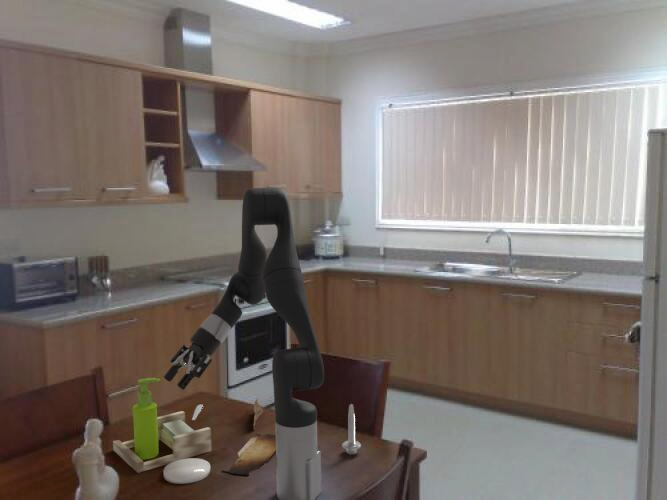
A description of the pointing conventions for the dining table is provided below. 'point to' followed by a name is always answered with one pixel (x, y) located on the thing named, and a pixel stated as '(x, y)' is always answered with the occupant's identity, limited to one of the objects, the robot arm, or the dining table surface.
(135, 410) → the soap dispenser
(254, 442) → the parchment
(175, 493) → the dining table surface
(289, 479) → the robot arm
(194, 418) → the butter knife
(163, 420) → the offcut rack
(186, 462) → the ceramic trivet
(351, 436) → the screw
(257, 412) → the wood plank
